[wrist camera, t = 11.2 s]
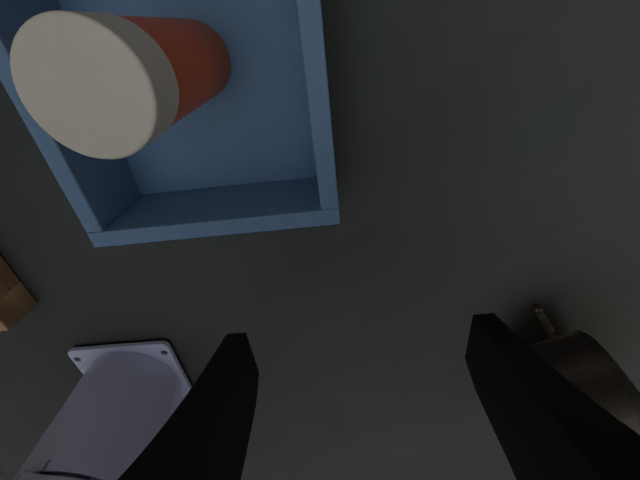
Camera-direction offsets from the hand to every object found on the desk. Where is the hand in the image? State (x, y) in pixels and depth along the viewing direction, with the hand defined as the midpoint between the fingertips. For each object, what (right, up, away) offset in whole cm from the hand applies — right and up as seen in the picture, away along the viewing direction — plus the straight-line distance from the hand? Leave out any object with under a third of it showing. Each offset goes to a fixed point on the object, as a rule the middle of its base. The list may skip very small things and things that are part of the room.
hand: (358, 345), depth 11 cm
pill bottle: (-7, +11, +4) cm, 14 cm away
